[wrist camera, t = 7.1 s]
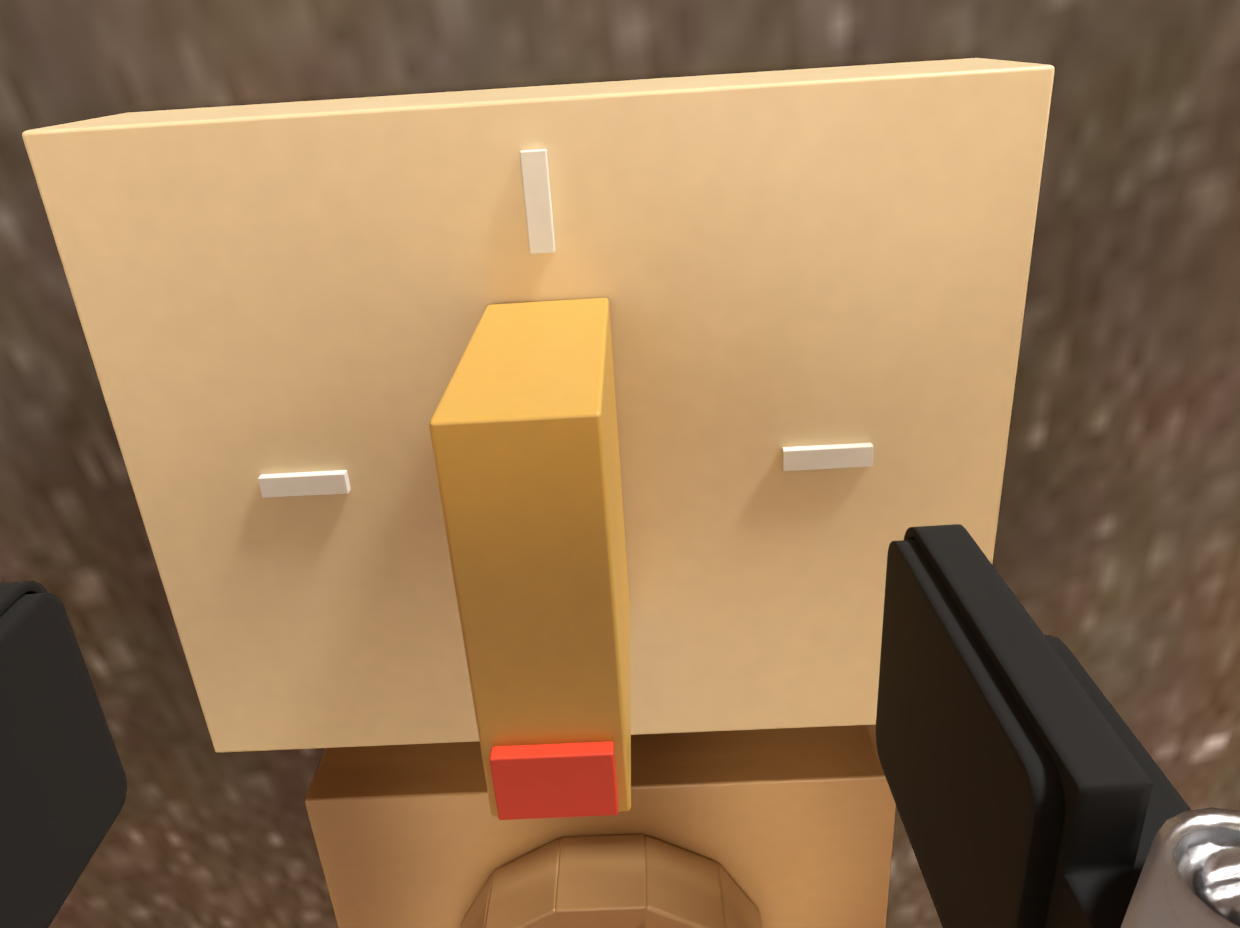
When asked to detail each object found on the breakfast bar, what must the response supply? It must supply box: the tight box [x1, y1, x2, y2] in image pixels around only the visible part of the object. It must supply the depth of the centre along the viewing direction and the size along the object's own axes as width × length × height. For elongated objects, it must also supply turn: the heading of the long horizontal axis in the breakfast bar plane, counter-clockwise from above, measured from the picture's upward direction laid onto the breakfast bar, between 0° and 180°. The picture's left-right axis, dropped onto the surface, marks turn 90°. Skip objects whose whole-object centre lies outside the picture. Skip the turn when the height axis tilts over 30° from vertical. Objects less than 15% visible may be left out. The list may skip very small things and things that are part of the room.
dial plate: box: [22, 58, 1055, 752], centre depth 16 cm, size 14×11×3 cm
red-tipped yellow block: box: [429, 298, 631, 820], centre depth 13 cm, size 6×2×5 cm, turn 3°
